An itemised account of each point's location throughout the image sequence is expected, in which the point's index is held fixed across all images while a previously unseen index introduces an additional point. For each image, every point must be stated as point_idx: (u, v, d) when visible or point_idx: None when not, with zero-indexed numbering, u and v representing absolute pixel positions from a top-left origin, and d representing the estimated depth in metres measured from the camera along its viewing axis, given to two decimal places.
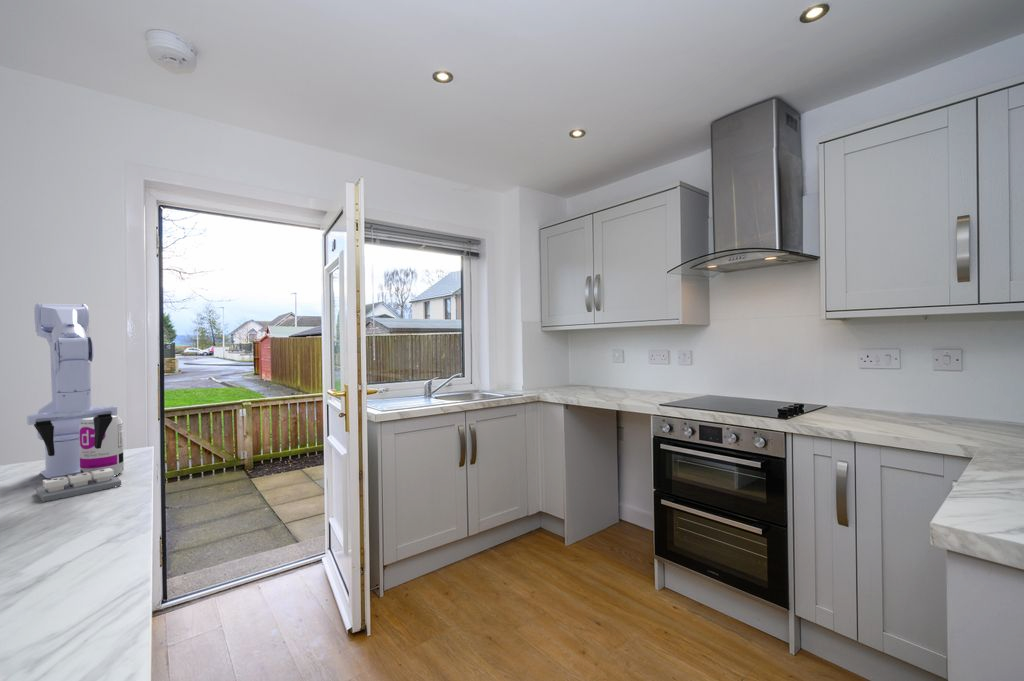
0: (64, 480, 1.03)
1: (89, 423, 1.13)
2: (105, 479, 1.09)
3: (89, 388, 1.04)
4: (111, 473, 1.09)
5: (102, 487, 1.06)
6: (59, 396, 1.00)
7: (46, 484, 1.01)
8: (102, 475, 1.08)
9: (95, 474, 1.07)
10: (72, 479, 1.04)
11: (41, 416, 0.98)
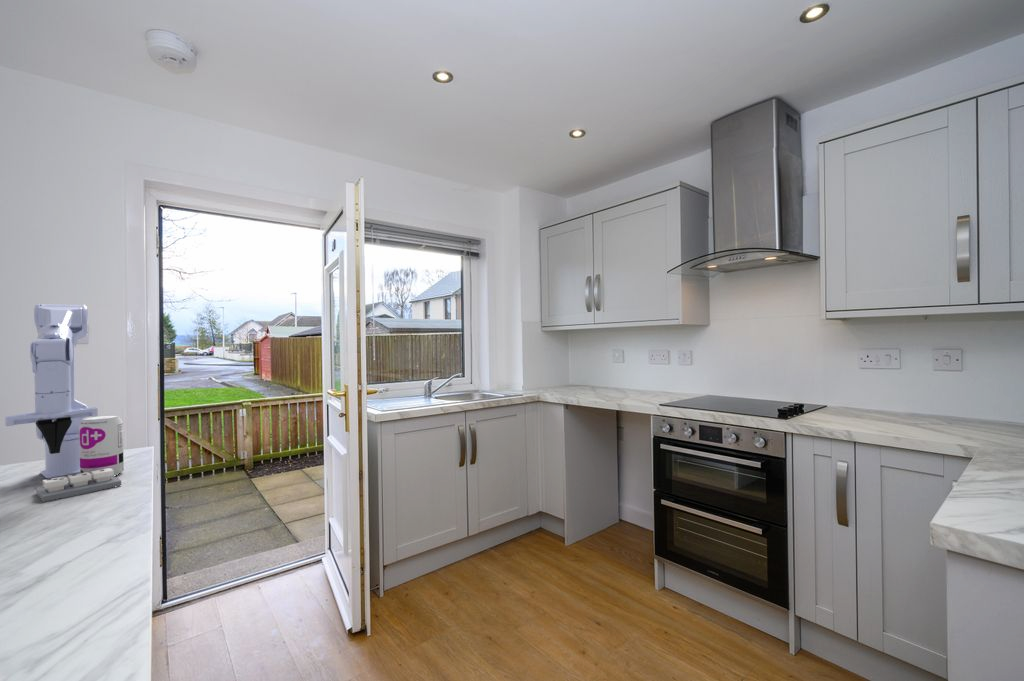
0: (64, 480, 1.03)
1: (89, 423, 1.13)
2: (105, 479, 1.09)
3: (67, 389, 1.03)
4: (111, 473, 1.09)
5: (102, 487, 1.06)
6: (38, 397, 1.00)
7: (46, 484, 1.01)
8: (102, 475, 1.08)
9: (95, 474, 1.07)
10: (72, 479, 1.04)
11: (19, 417, 0.98)
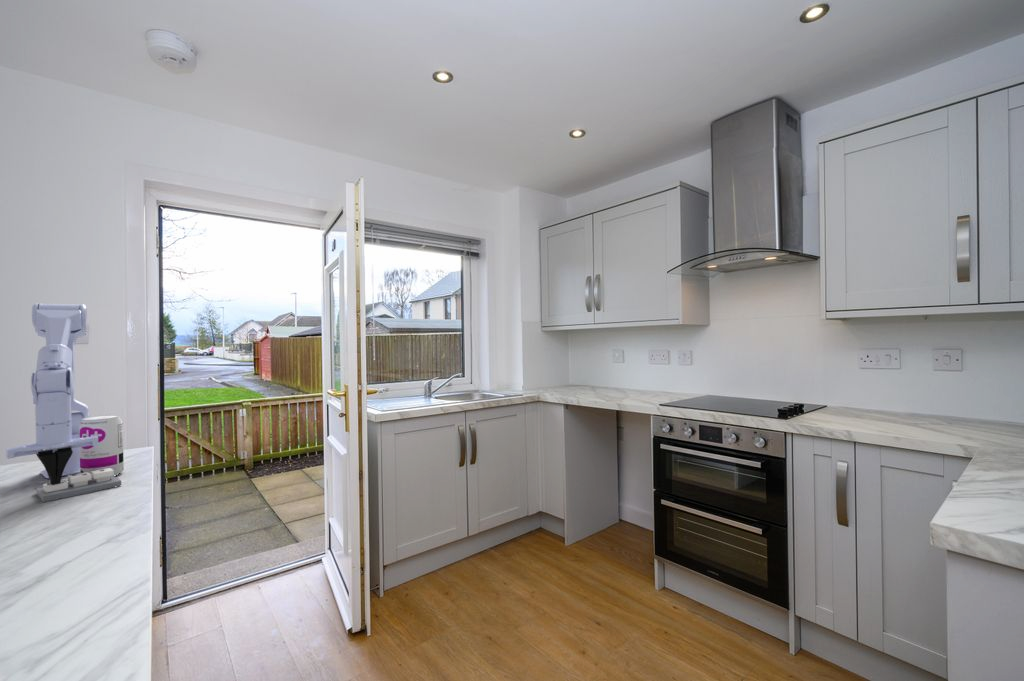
0: (64, 484, 1.03)
1: (89, 423, 1.13)
2: (105, 479, 1.09)
3: (68, 420, 1.03)
4: (111, 473, 1.09)
5: (102, 487, 1.06)
6: (38, 429, 1.00)
7: (46, 488, 1.01)
8: (102, 475, 1.08)
9: (95, 474, 1.07)
10: (72, 479, 1.04)
11: (20, 449, 0.98)
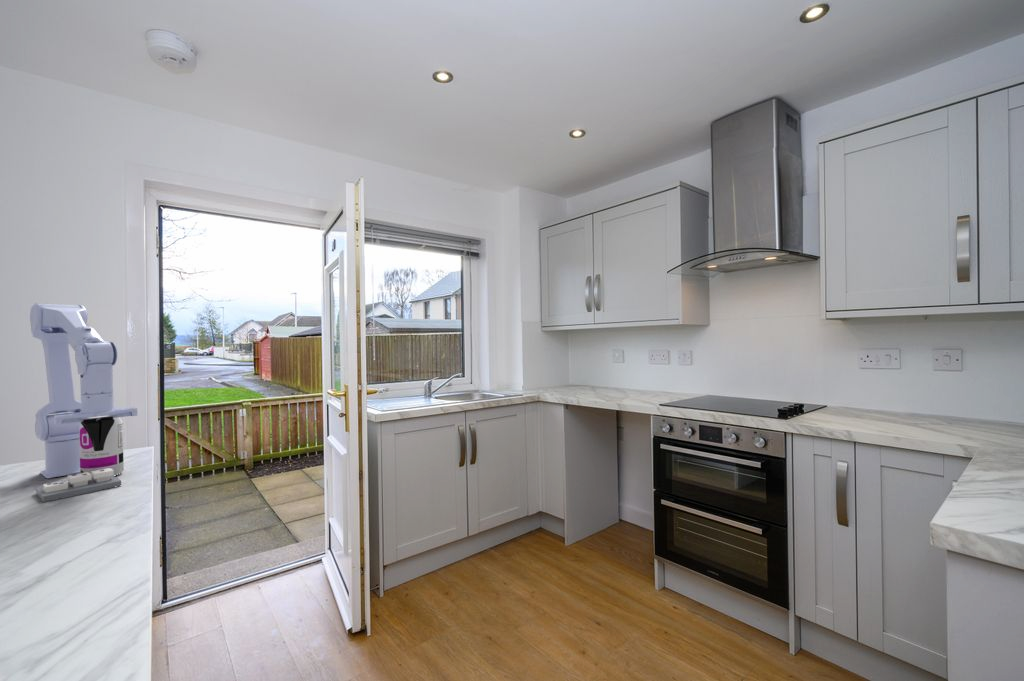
0: (64, 484, 1.03)
1: None
2: (105, 479, 1.09)
3: (112, 390, 1.10)
4: (111, 473, 1.09)
5: (102, 487, 1.06)
6: (84, 398, 1.06)
7: (46, 488, 1.01)
8: (102, 475, 1.08)
9: (95, 474, 1.07)
10: (72, 479, 1.04)
11: (67, 417, 1.04)
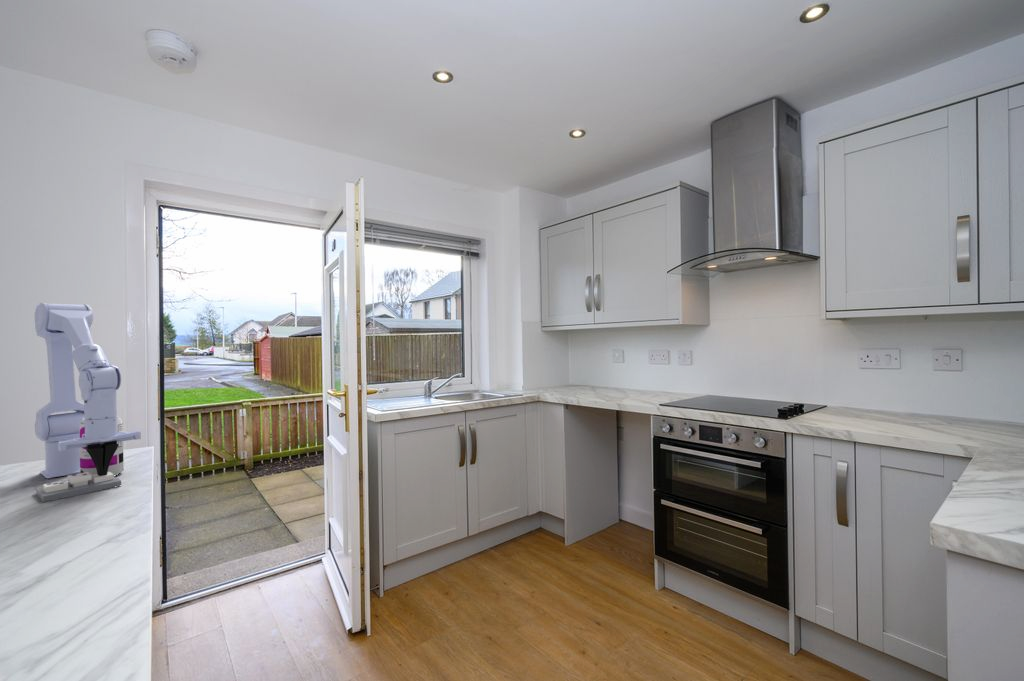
0: (64, 484, 1.03)
1: None
2: None
3: (116, 414, 1.11)
4: (111, 477, 1.09)
5: (102, 487, 1.06)
6: (88, 423, 1.06)
7: (46, 488, 1.01)
8: (102, 479, 1.08)
9: (95, 478, 1.07)
10: (72, 479, 1.04)
11: (71, 442, 1.04)
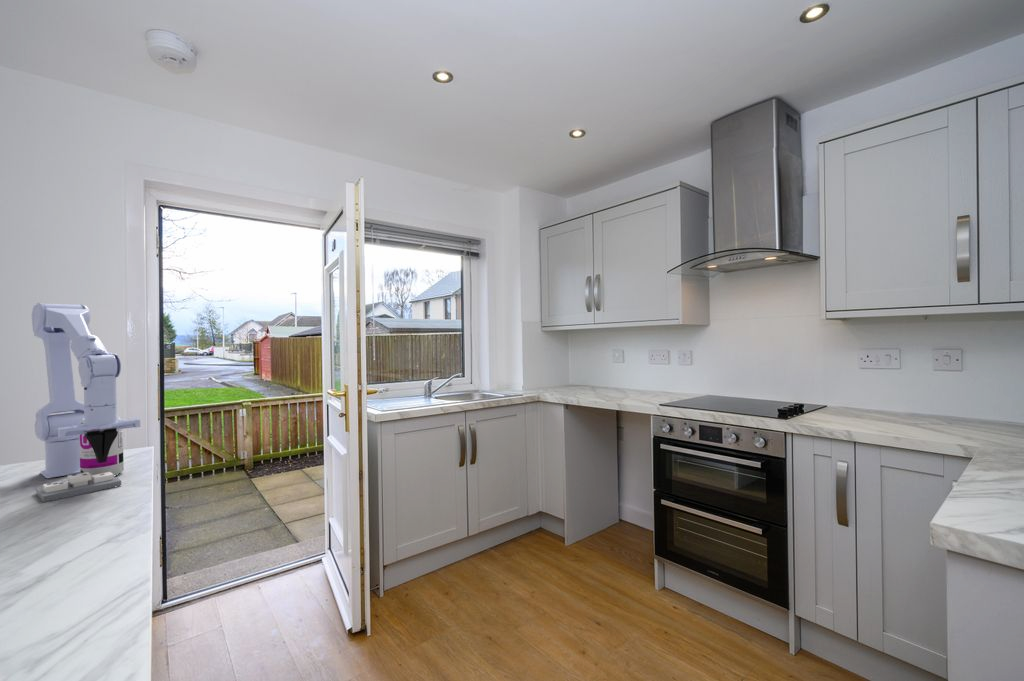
0: (64, 484, 1.03)
1: None
2: None
3: None
4: (111, 477, 1.09)
5: (102, 487, 1.06)
6: (87, 410, 1.06)
7: (46, 488, 1.01)
8: (102, 479, 1.08)
9: (95, 478, 1.07)
10: (72, 479, 1.04)
11: (71, 429, 1.04)
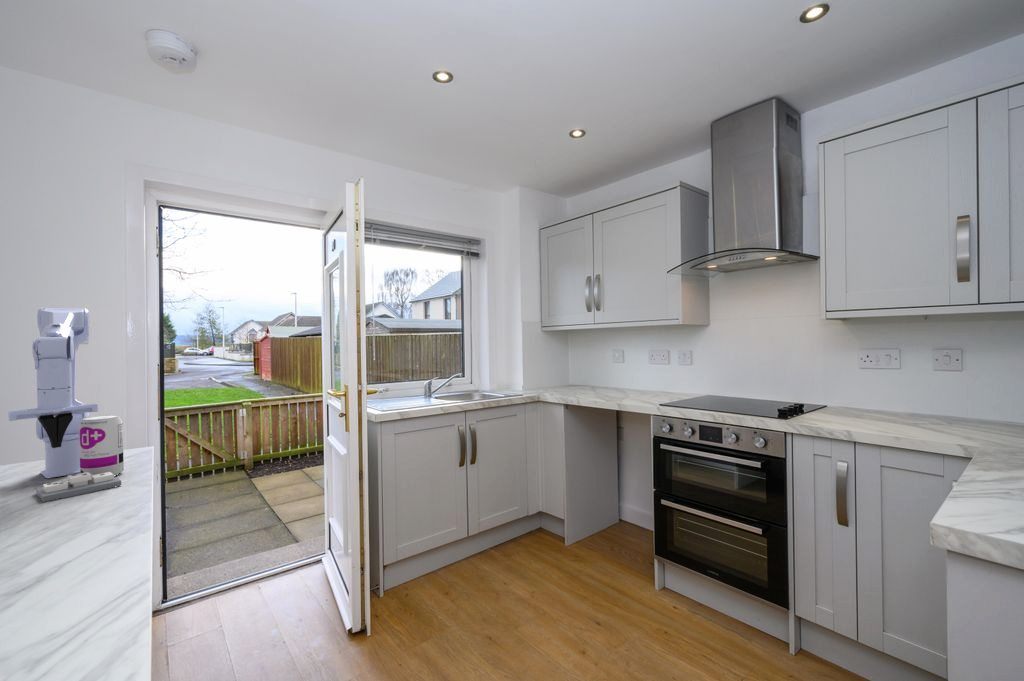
0: (64, 484, 1.03)
1: (89, 423, 1.13)
2: None
3: (68, 386, 1.07)
4: (111, 477, 1.09)
5: (102, 487, 1.06)
6: (40, 393, 1.03)
7: (46, 488, 1.01)
8: (102, 479, 1.08)
9: (95, 478, 1.07)
10: (72, 479, 1.04)
11: (22, 412, 1.01)
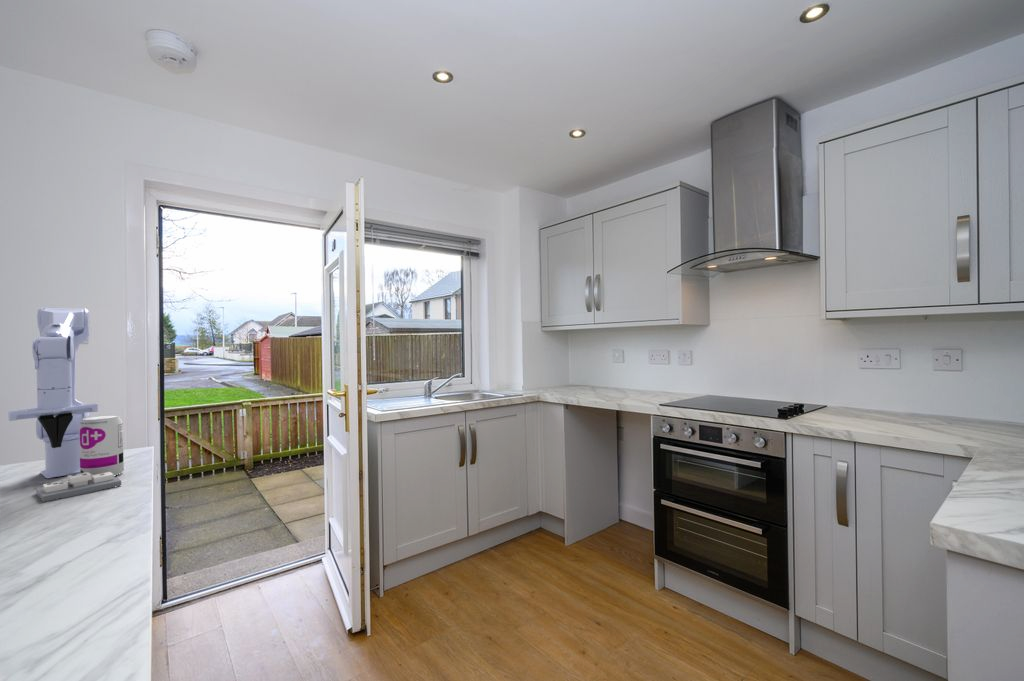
0: (64, 484, 1.03)
1: (89, 423, 1.13)
2: None
3: (68, 386, 1.07)
4: (111, 477, 1.09)
5: (102, 487, 1.06)
6: (40, 393, 1.03)
7: (46, 488, 1.01)
8: (102, 479, 1.08)
9: (95, 478, 1.07)
10: (72, 479, 1.04)
11: (22, 412, 1.01)
